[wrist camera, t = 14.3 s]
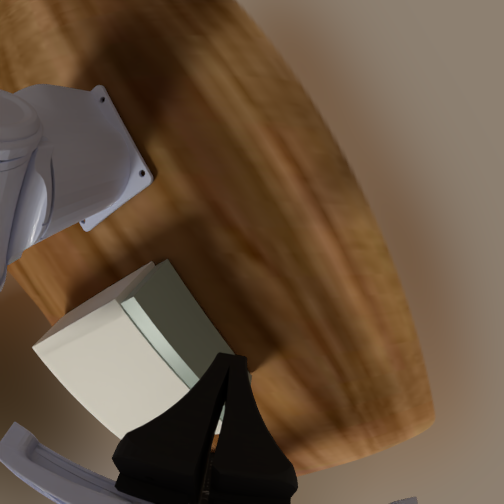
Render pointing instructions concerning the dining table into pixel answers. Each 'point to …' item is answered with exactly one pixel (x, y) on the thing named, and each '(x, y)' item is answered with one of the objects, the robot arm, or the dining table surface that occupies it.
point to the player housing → (112, 361)
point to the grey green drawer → (175, 323)
